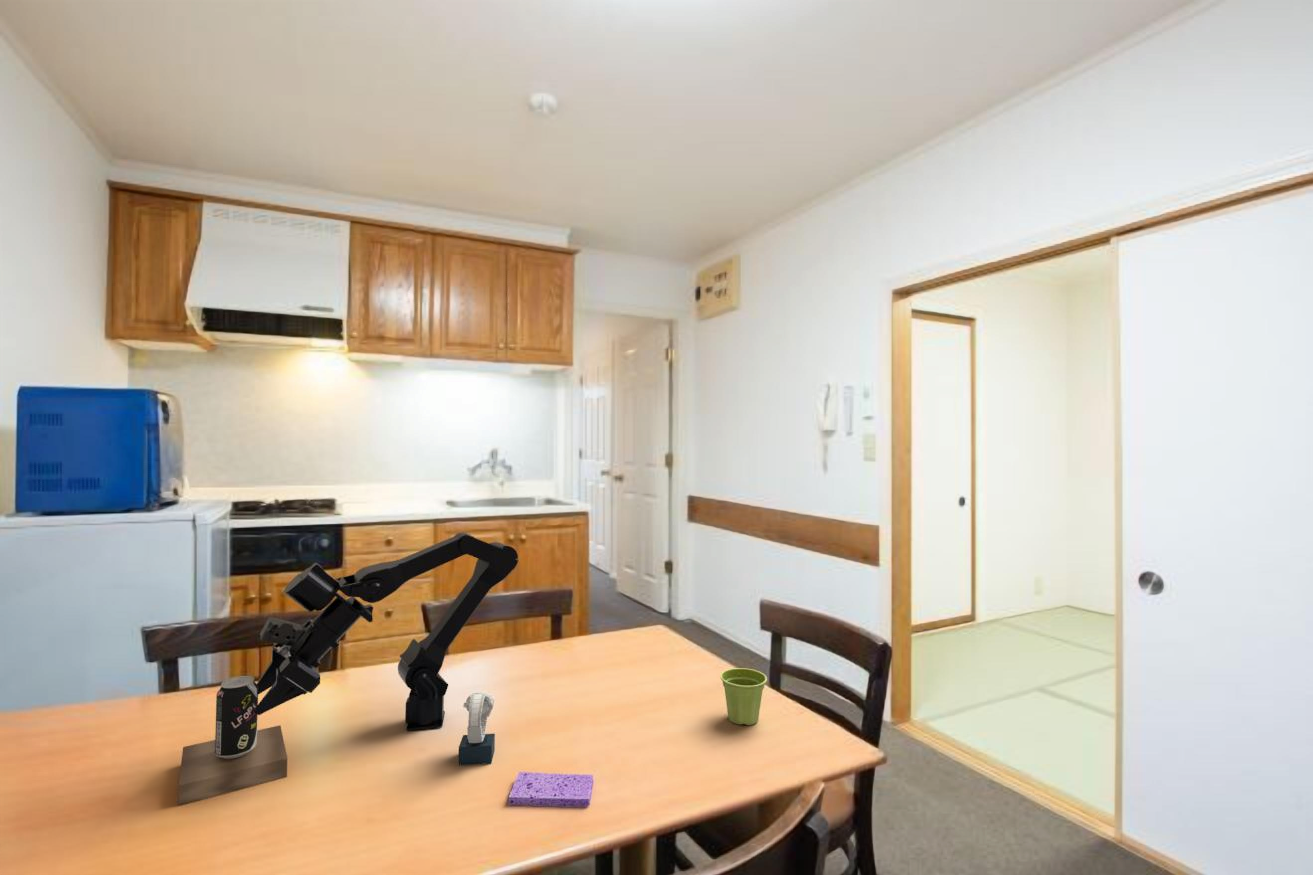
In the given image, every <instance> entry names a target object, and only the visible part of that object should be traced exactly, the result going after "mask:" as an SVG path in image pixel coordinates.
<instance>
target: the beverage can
mask: <svg viewBox="0 0 1313 875" xmlns="http://www.w3.org/2000/svg"><path fill="white" fill-rule="evenodd" d="M215 698H216V701H215V705H216V706H215V733H214V735H215V739H214V740H215V754H216V756H218V757H221V758H224V759H233V758H238V757H241V756H243V755H245V754H247V753H249V752H250V751H251V750H252V749H254V748H255V746H256V745H257V730H258V718H259V717H258V716H259V715H257V714H256V713H254V710H255V708H256V707H257V706H258V704H259V694H258V685H257V682H255V677H254V676H251V675H242V676H241V675H240V676H236V677H235V676H233V677H231V678H228V679H226V680H224V681H222V682H221V685H220V689H218V691H217V692H216V697H215Z"/></svg>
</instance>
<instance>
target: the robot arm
mask: <svg viewBox="0 0 1313 875" xmlns="http://www.w3.org/2000/svg"><path fill="white" fill-rule="evenodd" d="M465 555H468V556H471V557H473V558H476V559H477V561H476V562H475V567H474V570H473V573H472V576H471V577H470V578H469V580H468V581H467V583H466V584H465V586H464V587H463V588H462V590H461V591H460V592H459V593H458V595H457V597H456V598H454V600H453V602H452V603H451V604H450V605H449V607H448V609H447V610H446V611H445V613H444V614H443V615H442V617H441V618H440V619H439V621H438V622H437V624H436V625H434V628H433V629H432V630H431V632H430V633H429V634H428V635H427V636H426V637H424V638H423V639H422V640H420V641H419V642H418V641H417V640H416V639H415V638H413V639H412V640H411V641H410V643H409V645H408V647H407V648H406V649H405V651H404V652H402V653H401V654H399V658H400V659H399V662H398V664H397V673H398V675H399V678H400V679H401V680H402V681H403V683H404V684H405V686H406V687H407V688H409V689H410V691H409V694H408V697H407V698H406V701H405V710H404V711H405V714H404V715H405V718H404V719H405V720H404V721H405V724H407V725H406V731H408V732H409V731H417V730H426V729H436V728H437V729H438V728H442V727H443V724H444V719H445V715H446V712H445V705H444V704H445V696H446V694H447V691H448V688H449V684H448V682H446V680H445V679H444V678H443V677H442V676H441V674H440V671H441V668H442V667H443V664H444V660H445V658H446V654H447V651H448V648H449V647H450V646H451V644H452V643H453V642H454V640H455V639H456V638H457V636H458V635H459V633H460V632H461V630H462V629H463V628H464V626H465V625H466V624H467V623H468V621H469V619H470V618H471V617H472V615H473V614H474V612H476V610H477V608H478V607H479V606H480V604H481V603H482V602H483V600H484V599H485V597H486V596H487V595H488V593H489V592H490V590H492V588H494V587H495V586H497V585H498V584H499V583H501V582H502V581H504V580H505V579H506V578H507V577H508V576H509V575H511V573H512V572H513V571H514V570H515V569H516V568H517V566H518V564H519V555H518V553H517V550H516V549H515V548H514V547H512V546H511V545H508V544H505V543H502V542H500V541H492V542H489V543H488V542H486V541H484V540H481V539H478V538H476V537H475V536H474V535H471V534H470V533H467V532H464V531H463V532H458V533H456V534H455V535H453V536H452V537H448V538H447V539H445V540H442V541H440V542H438V543H436V544H435V543H434V544H433V545H430V546H428V547H426V548H423V549H422V550H418V551H417V552H413V553H412V554H409V555H408V556H405V557H402V558H400V559H396V560H392V561H385V562H383V561H382V562H379V563H375V564H372V565H367V566H364V567H361V568H360V569H359V570H357V571H356V572H355V574H354V573H353V574H350V575H349V574H348V575H344V576H341V577H337V578H334V577H333V576H332V575H331V574H329V573H328V572H327V571H325V569H324V568H323V567H322V565H320V564H319V563H317V562H314V563H313V564H312V565H310V567H307V568H306V569H304V570H303V571H301V572H300V573H298V574H297V575H295V577H293V578H292V580H291V581H290V582H288V584H287V585H286V586H285V587H284V590H283V592H282V593H283V594H284V595H286V596H287V597H289V599H291V600H293V601H294V602H295V603H296V604H298V605H299V606H300V607H302V608H303V609H304V610H306V611H307V612H309V613H311V612H313V611H316V612H318V611H319V612H320V611H321V612H320V613H319V614H318V615H317V616H316V617H315V618H313V619H311V618H310V619H306V621H305V622H304V623H302V624H299V623H296V622H293V621H290V620H285V619H283V618H278V617H274V616H269V617H268V618H267V619H266V622H265V624H264V626H263V628H262V629H261V631H260V633H259V636H260V638H259V639H260V640H261V641H262V642H264V643H269V644H270V643H272V644H273V646H271V660H270V662H269V663H268V665H267V667H266V668H265V670H264V671H263V673H262V675H261V676H260V678H259V679H258V681H257V682H256V684H257V685H258V695H260V694H261V693H263V692H265V691H267V690H268V691H267V692H266V694H265V695H264V696H263V697H262V699H261V700H260V702H258V706H257V707H256V708H255V710H254V713H256V714H257V715H258V716H260V715H263V714H264V713H266V712H268V711H270V710H273V709H274V708H277V707H278V706H281V705H283V704H284V703H286V702H289V701H291V700H293V699H296V698H297V697H300V696H302V695H306V694H308V693H310V694H312V693H313V692H314V690H315V689H316V688H317V687H318V686H319V685H320V684H321V674H320V672H319V670H318V667H319V666H320V665H321V659H322V658H324V656H326V654H327V653H328V652H329V651H330V650H331V649H334V650H335V649H336V648H337V647H338V646H339V645H340V643H339V642H338V641H340V640H341V638H342V637H343V636H344V635H345V634H346V633H347V632H348V631H349V630H350V629H351V628H352V627H353V626H354V625H355V624H356V623H357V622H358V620H359V619H361V618H363V619H364V620H366V621H367V622H368V623H372V622H373V621H374V619H373V618H374V617H373V611H374V607H373V605H372V604H375V603H379V602H381V601H382V600H384V599H386V598H387V597H388V596H390V595H392V594H393V593H395V592H396V591H397V590H399V589H400V588H401V587H402V586H403V585H404V584H405V583H407V582H408V581H410V580H411V579H414V578H416V577H418V576H420V575H422V574H425V573H427V572H430V571H431V570H433V569H436V568H438V567H440V566H443V565H445V564H447V563H449V562H451V561H454V560H456V559H458V558H460V557H463V556H465ZM338 591H340V592H341V593H342V594H344V595H345V596H346V597H347V598H346V597H344V595H342V594H340V593H339V592H338ZM357 598H359V599H360V600H362V601H363V602H366V603H370V604H366V605H365V604H363V602H360V601H359V600H358V599H357Z"/></svg>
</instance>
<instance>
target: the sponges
mask: <svg viewBox="0 0 1313 875" xmlns="http://www.w3.org/2000/svg"><path fill="white" fill-rule="evenodd" d="M593 786H594V774H591V773H590V774H587V773H586V774H584V773H583V774H580V773H573V774H572V773H570V774H568V773H565V774H564V773H555V772H554V773H547V772H532V771H518V773H517V776H516V777H515V782H514V783H513V785H512V789H511V791H510V793H509V795H508V805H509V806H535V807H536V806H539V807H540V806H541V807H546V806H548V807H573V808H574V807H576V808H587V807H588V806H590V805H591V799H592V793H593V792H592V791H593Z"/></svg>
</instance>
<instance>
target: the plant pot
mask: <svg viewBox="0 0 1313 875" xmlns="http://www.w3.org/2000/svg"><path fill="white" fill-rule="evenodd" d="M719 677H720V680H721V681H722V685H723V687H724V696H725V701H726V702H725V703H726V711H727V718H728V720H729V721H730V722H731V723H732V724H733V723H734V725H738V724H739V726H741V725H747V726H751V725H754V724H757V723H758V721H759V719H760V718H759V717H760V712H761V711H760V710H761V704H762V699H763V697H762V696H763V690H764V689H765V684H766V683H767V681H768V677H767V676H766V674H765V673H763V672H761V671H758V670H756V669H751V668H743V667H741V668H740V667H739V668H736V667H735V668H729V669H726V670H723V671H722V672H721V673H720V676H719Z"/></svg>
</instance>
